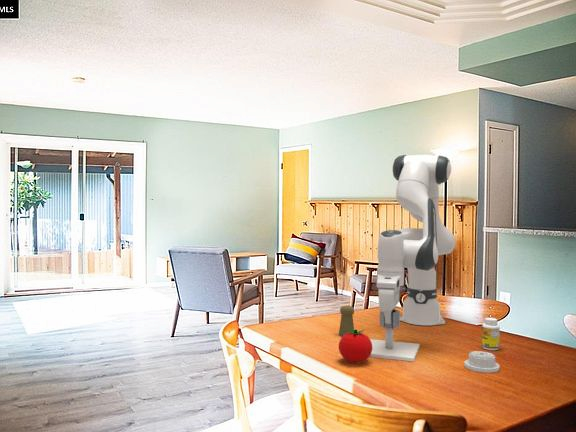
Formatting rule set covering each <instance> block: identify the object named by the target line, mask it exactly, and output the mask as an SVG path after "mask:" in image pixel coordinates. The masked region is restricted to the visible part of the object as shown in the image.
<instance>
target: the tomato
mask: <svg viewBox="0 0 576 432" xmlns="http://www.w3.org/2000/svg"><path fill="white" fill-rule="evenodd" d="M351 331H352V332H349V333H347V334H345V335H344V336H343V337H341V338H340V339H339V343H338V351H339V353H340V356H341V357H343V359H344V360H346V361H348V362H350V363H354V364H356V363H357V364H358V363H362V362H365V361H366V360H368V359H369V358H370V357H369V356H370V355H371V352H372V342H371V340H370V339H371V338H370V337H369V336H368V335H366V334H365V333H364V331H365V330H364V329H362V330H360V331H358V329H354V330H353V329H351ZM346 332H347V331H346Z"/></svg>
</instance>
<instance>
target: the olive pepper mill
mask: <svg viewBox="0 0 576 432" xmlns="http://www.w3.org/2000/svg"><path fill="white" fill-rule="evenodd" d="M339 312H340V315H341V316H340V322H339V323H340V324H339V328H338V329H339V330H338V336H339V337H341V338H342V337H343V336H344V335H345V334H347V333H349V332H352V331H351V329H353V330H355V326H354V317H353V316H354V314H355V309H354V307H353V306H351V305H342V306H340V309H339ZM346 331H347V332H346Z"/></svg>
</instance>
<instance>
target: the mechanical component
mask: <svg viewBox="0 0 576 432" xmlns="http://www.w3.org/2000/svg"><path fill="white" fill-rule="evenodd" d="M463 363H464V367H465V369H467V370H470V371H473V372H477V373H485V374H487V373H489V374H490V373H492V374H493V373H497V372H499V371H500V364H499V363H498V362H496V355H495V354H494V353H491V352H487V351H479V350H475V351H470V352H469V353H468V359H466V360H465V361H464V362H463Z"/></svg>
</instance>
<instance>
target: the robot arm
mask: <svg viewBox="0 0 576 432" xmlns="http://www.w3.org/2000/svg"><path fill="white" fill-rule="evenodd" d="M451 165H452V164H451V162H450V159H449V158H448V157H447V156H443V155H438V156H437V155H431V154H412V155H411V154H410V155H406V154H403V155H398V156H397V157H396V158H395V159H394V161H393V163H392V168H391V170H392V176H393V178H394V179H395V180H396V181H397V186H396V190H395V191H396V192H395V199H396V201H397V202H398V204H399V206H400V207H401V208H402V209H404V210H406V211H407V212H409V213H410V215H411V216H412V218H413V219H415V220H416V221H418V222H420V223H422V228H421V227H420V228H419V227H418V228H416V227H413V228H412V227H411V228H409V227H407V228H406V227H405V228H400V229H395V230H394V229H393V230H392V229H389V230H384V231H382V232H381V233H379V236H378V241H377V242H378V243H377V257H376V258H377V260H378V261H377V262H378V263H377V264H378V265H377V269H376V288H377V289H378V306H379V312H380V311H381V312H384V316H385V323H387V324H390V323H391V311H392V310H393V309H396V308H397V307H396V306H397V305H398V303H399V302H400V291H401V287H402V286H404V285H405V268H406V269H407V275H408V287H407V291H406V295H407V297H406V299H404V300H403V303H402V304H403V305H402V306H403V307H402V315H400V321H401V322H405V323H406V324H409V325H410V324H411V325H416V326H436V325H445V324H446V320H445V319H444V317H443V316H442V311H441V303H440V301H438V299H437V296H438V289H437V271H436V269H435V267H436V266H437V264H438V260H439V256H443V255H450V254H451V253H452V252H453V251H454V250H455V247H456V241H457V240H456V238H455V235H454V234H453V232H452V231H451V230H450V229H448V228H447V227H446V226H445V225H444V223H443V222H442V220H441V218H440V217H441V216H440V210H439V208H440V207H439V199H440V198H439V197H440V196H439V193H440V191H439V189H440V188H439V186H440V185H441V184H443V183H446V182H447V181H448V180H449V178H450V176H451V172H452V166H451Z"/></svg>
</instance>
